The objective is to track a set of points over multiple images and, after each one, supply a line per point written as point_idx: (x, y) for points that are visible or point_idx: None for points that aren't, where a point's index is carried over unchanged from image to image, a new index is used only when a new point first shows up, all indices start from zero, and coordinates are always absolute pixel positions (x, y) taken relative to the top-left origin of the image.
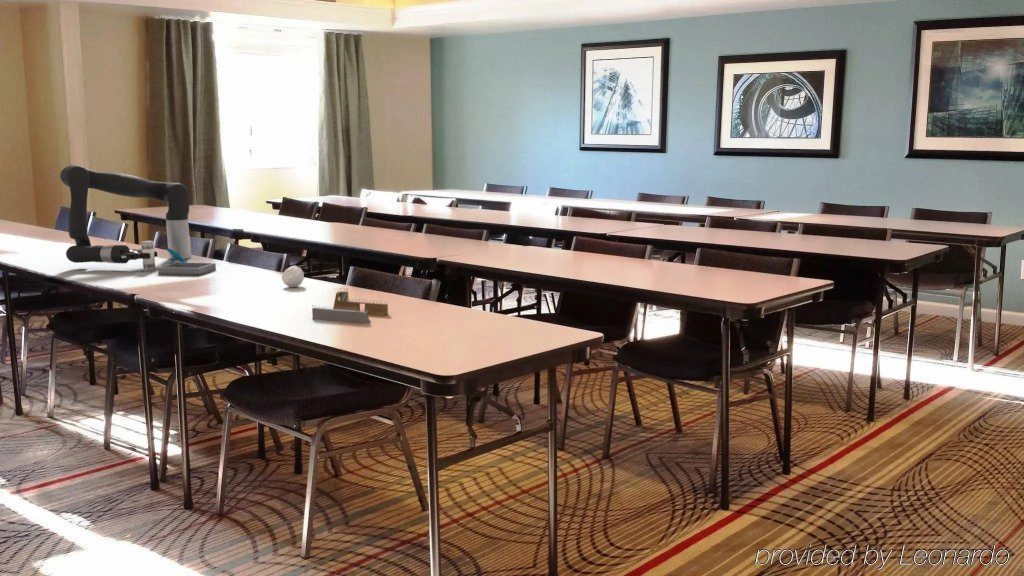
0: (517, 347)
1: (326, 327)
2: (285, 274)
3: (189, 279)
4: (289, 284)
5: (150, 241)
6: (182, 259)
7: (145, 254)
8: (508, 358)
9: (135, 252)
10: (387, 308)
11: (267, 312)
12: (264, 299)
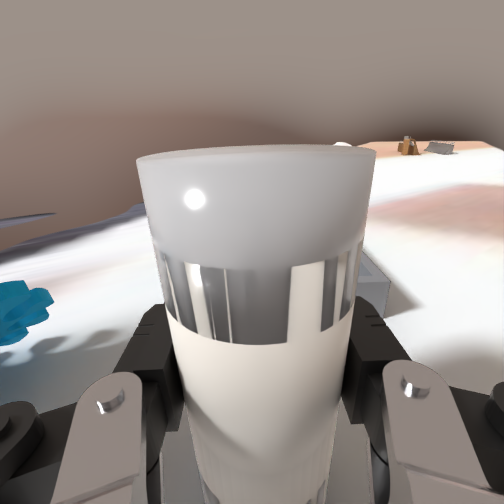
0: None
1: (462, 151)
2: None
3: (381, 227)
4: None
5: (241, 148)
6: (45, 310)
7: (372, 306)
8: (435, 141)
9: (465, 484)
10: (398, 146)
11: (467, 160)
12: (424, 167)
